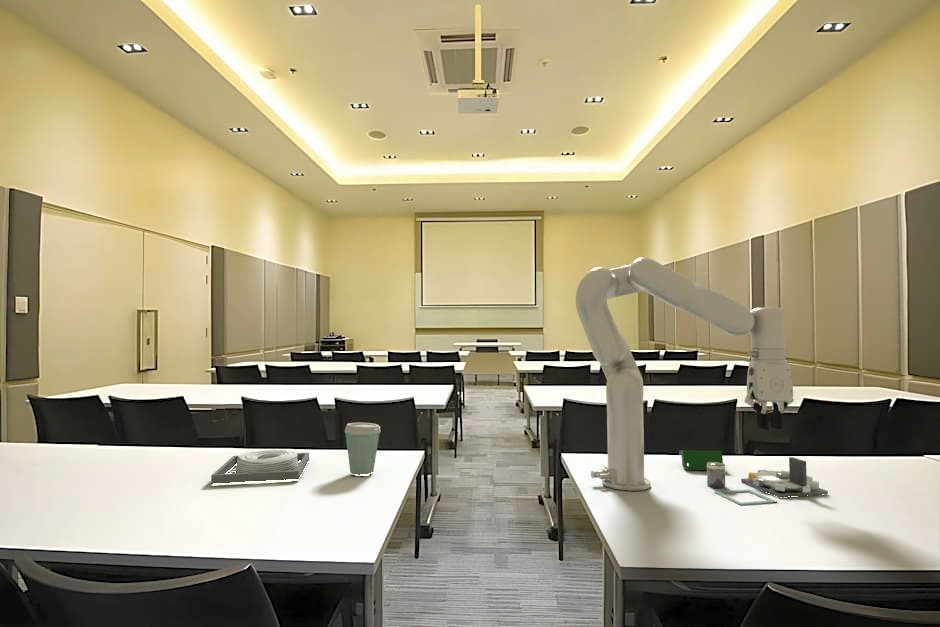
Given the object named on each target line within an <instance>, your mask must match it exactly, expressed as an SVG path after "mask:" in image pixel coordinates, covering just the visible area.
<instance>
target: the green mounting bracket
mask: <svg viewBox="0 0 940 627" xmlns="http://www.w3.org/2000/svg"><path fill="white" fill-rule="evenodd" d="M678 454H679V456H681V465H682V467H683V468H684V470H690V471H691V470H695V471H697V470H699V471H707V463H708V462H719V463H723V464H724V459H723V451H722V450H698V449H697V450H695V449H694V450H693V449H690V450H688V449H681V450H680V449H679V450H678Z"/></svg>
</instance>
